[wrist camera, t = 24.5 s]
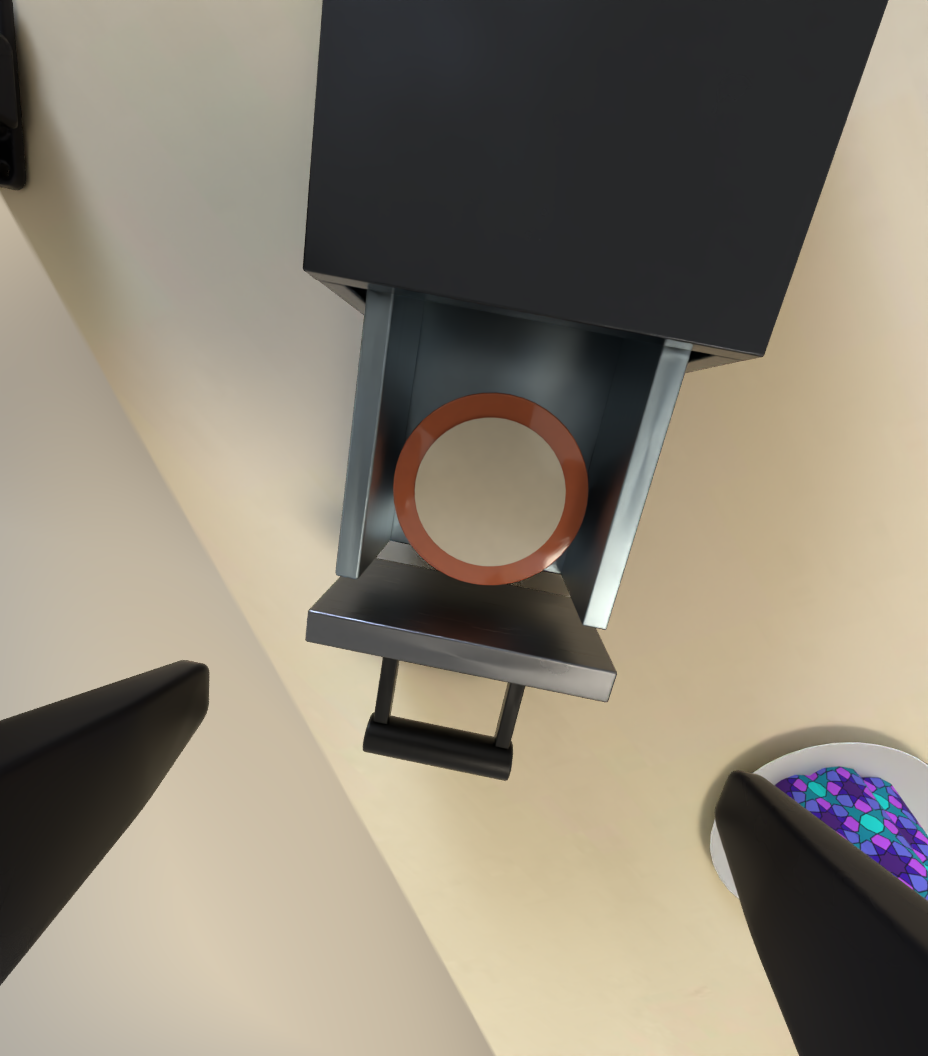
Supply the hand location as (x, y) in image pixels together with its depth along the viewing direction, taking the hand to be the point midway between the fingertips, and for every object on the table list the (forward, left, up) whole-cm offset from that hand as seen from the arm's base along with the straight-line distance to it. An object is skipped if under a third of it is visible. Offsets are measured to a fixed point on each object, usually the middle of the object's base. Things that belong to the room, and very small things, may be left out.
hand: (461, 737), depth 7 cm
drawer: (0, +1, -12) cm, 12 cm away
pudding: (+21, -12, -13) cm, 28 cm away
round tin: (0, +3, -11) cm, 11 cm away
